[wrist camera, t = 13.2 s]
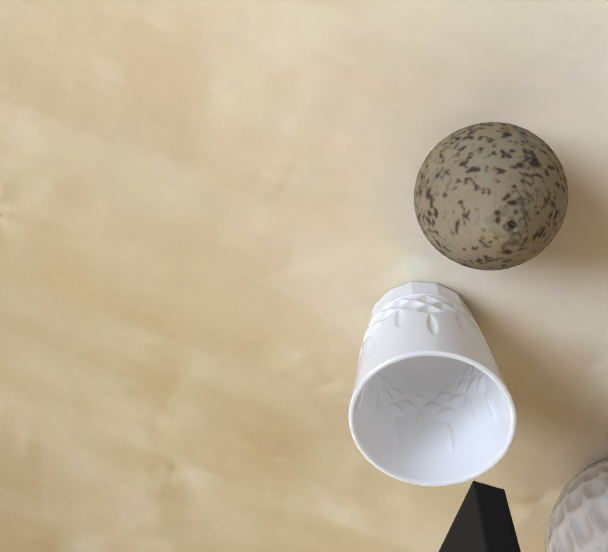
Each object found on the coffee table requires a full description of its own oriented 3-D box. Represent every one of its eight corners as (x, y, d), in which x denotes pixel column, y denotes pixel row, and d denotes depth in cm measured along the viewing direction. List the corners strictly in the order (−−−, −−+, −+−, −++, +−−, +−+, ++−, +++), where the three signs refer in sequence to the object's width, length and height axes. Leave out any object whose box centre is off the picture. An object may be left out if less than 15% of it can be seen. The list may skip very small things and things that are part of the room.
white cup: (348, 282, 34) (333, 363, 24) (474, 262, 32) (508, 341, 23) (372, 384, 36) (365, 492, 27) (489, 371, 34) (524, 481, 25)
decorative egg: (520, 94, 28) (584, 106, 19) (553, 214, 30) (624, 277, 21) (394, 144, 30) (396, 177, 21) (433, 253, 32) (450, 328, 23)
